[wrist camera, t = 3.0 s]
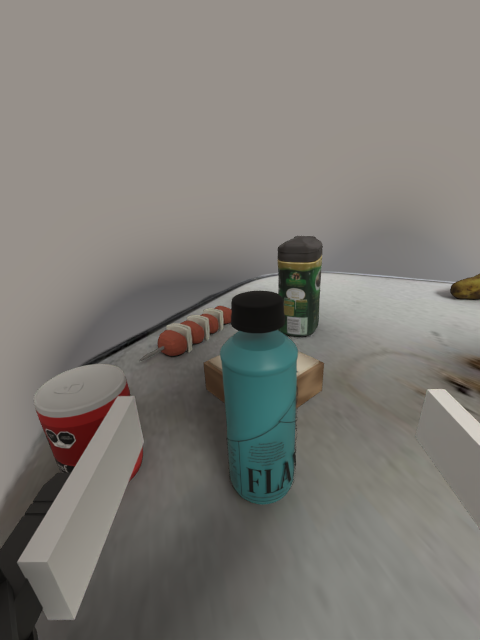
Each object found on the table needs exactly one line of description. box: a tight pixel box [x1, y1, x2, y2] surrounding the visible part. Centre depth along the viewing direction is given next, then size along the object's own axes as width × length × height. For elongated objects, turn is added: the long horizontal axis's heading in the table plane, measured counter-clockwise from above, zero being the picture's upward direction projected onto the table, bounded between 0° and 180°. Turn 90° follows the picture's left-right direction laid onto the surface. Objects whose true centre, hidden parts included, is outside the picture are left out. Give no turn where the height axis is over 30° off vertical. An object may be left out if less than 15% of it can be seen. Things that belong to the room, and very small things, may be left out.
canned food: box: [34, 364, 143, 481], centre depth 31 cm, size 8×8×11 cm
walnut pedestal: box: [204, 351, 324, 408], centre depth 43 cm, size 12×12×5 cm
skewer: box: [139, 306, 231, 361], centre depth 61 cm, size 5×5×30 cm
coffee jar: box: [278, 236, 323, 337], centre depth 59 cm, size 10×8×19 cm
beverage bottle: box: [220, 291, 299, 504], centre depth 26 cm, size 6×7×20 cm
